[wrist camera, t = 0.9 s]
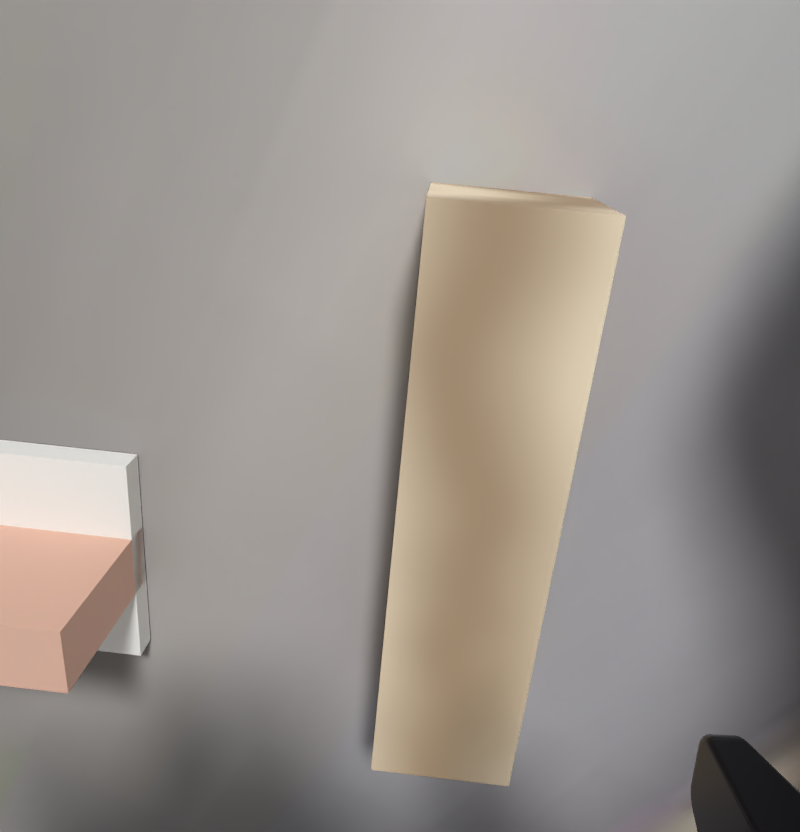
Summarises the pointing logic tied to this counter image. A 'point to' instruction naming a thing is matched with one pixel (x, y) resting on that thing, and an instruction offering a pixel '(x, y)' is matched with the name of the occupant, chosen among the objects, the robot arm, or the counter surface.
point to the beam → (486, 467)
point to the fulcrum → (68, 562)
